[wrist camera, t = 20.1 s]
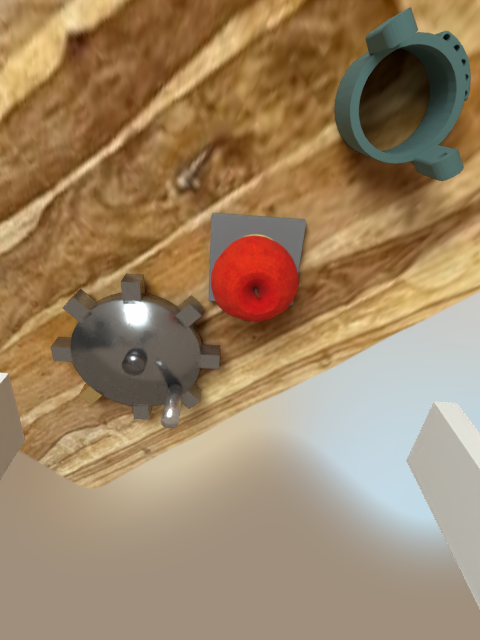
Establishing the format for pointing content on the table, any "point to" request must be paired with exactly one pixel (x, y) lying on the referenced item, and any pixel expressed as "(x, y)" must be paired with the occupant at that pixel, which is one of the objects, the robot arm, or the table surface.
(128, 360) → the hub
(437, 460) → the robot arm
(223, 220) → the seat
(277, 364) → the table surface
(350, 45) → the table surface
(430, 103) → the bracket
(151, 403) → the sprocket
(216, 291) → the apple
